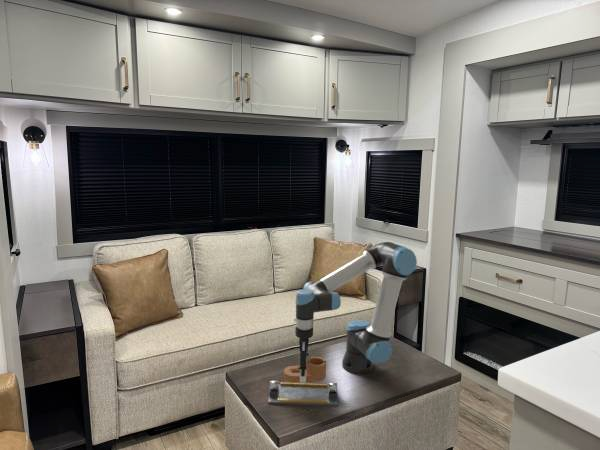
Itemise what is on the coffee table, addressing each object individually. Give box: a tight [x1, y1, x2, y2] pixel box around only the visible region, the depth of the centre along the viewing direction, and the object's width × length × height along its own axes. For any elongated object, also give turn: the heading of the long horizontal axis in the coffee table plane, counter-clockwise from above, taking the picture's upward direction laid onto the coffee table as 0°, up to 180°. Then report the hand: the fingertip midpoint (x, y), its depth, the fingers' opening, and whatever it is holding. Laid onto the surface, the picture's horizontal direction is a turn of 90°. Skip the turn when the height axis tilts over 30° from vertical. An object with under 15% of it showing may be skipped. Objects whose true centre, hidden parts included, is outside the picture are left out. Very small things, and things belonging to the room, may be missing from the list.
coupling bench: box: [267, 380, 338, 407], centre depth 176 cm, size 29×13×6 cm, turn 87°
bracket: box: [283, 356, 327, 383], centre depth 175 cm, size 18×8×7 cm, turn 95°
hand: (303, 376), depth 175 cm, fingers closed on bracket, 9 cm apart
